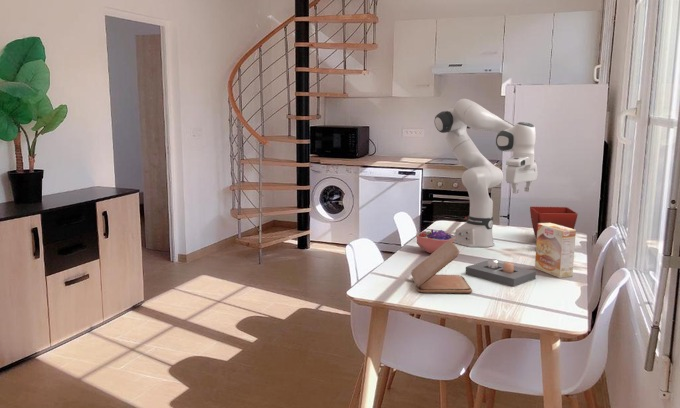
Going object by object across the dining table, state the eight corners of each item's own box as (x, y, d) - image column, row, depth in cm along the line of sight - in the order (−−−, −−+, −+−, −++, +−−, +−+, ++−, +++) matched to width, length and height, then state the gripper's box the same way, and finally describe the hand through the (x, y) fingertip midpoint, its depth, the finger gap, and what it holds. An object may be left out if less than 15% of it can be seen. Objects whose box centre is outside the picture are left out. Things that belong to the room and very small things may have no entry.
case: (410, 277, 221) (411, 238, 219) (463, 278, 221) (464, 239, 218) (415, 294, 201) (416, 251, 198) (473, 295, 200) (475, 252, 198)
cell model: (433, 246, 274) (434, 223, 272) (462, 254, 257) (463, 230, 255) (406, 250, 265) (407, 227, 263) (435, 259, 248) (436, 235, 246)
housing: (465, 273, 226) (465, 266, 226) (488, 267, 237) (488, 260, 236) (513, 286, 210) (514, 279, 209) (535, 278, 220) (536, 271, 220)
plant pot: (535, 245, 275) (538, 212, 273) (527, 237, 294) (529, 206, 291) (575, 247, 273) (578, 213, 270) (565, 238, 292) (567, 207, 289)
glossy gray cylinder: (485, 274, 226) (486, 259, 225) (491, 272, 229) (491, 258, 228) (494, 276, 223) (494, 262, 222) (499, 274, 226) (500, 260, 225)
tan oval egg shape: (500, 278, 221) (501, 263, 220) (506, 276, 223) (507, 261, 222) (509, 280, 218) (510, 265, 217) (515, 278, 220) (515, 263, 219)
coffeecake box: (533, 268, 235) (536, 223, 232) (547, 266, 238) (550, 222, 234) (558, 278, 221) (562, 230, 218) (573, 276, 224) (576, 229, 221)
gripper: (529, 158, 248) (527, 189, 250) (503, 161, 234) (502, 193, 237) (542, 159, 243) (540, 191, 246) (517, 162, 230) (515, 195, 232)
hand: (521, 192), depth 241 cm, fingers open, 8 cm apart
